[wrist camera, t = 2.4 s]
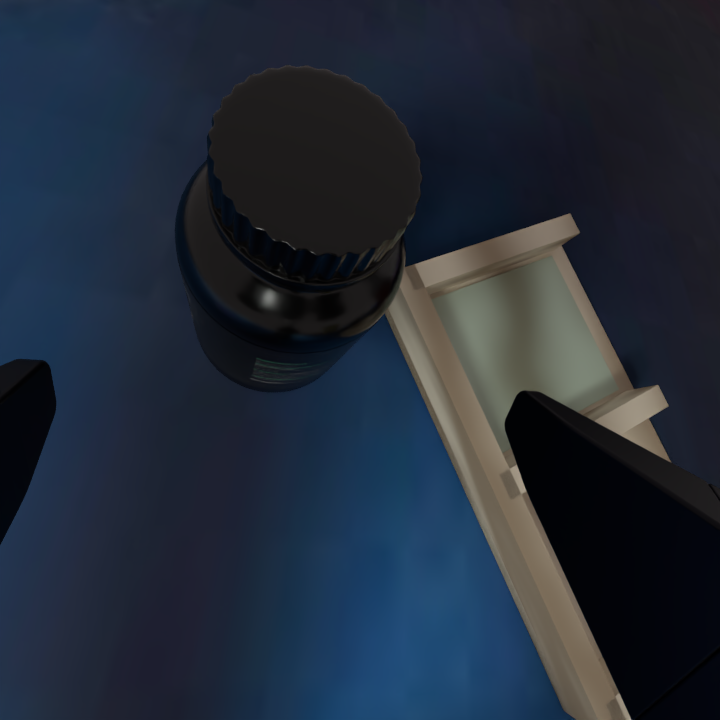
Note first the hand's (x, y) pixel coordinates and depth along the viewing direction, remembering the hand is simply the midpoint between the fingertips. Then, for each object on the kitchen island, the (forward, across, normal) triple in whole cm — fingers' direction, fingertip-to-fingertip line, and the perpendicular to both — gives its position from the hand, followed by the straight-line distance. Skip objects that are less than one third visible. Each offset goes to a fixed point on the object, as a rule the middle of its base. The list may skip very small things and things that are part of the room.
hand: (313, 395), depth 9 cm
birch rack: (+8, -15, +8) cm, 19 cm away
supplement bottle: (+12, 0, +5) cm, 13 cm away
